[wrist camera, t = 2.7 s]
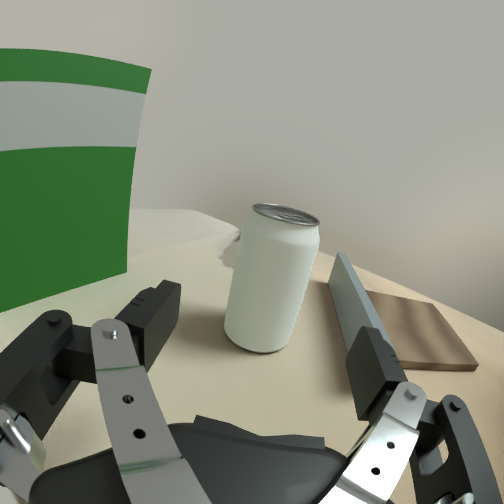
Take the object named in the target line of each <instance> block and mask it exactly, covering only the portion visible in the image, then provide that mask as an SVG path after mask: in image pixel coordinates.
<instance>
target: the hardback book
mask: <svg viewBox="0 0 504 504" xmlns="http://www.w3.org/2000/svg"><path fill="white" fill-rule="evenodd" d="M150 74H151V69H149V68H145V67H141V66H137V65H133V64H128V63H124V62H120V61H115V60H110V59H105V58H100V57H94V56H88V55H82V54H75V53H67V52H59V51H48V50H36V49H0V313H1V312H4V311H7V310H10V309H13V308H16V307H19V306H22V305H25V304H28V303H31V302H34V301H37V300H40V299H43V298H46V297H49V296H53V295H56V294H59V293H62V292H65V291H68V290H71V289H74V288H78V287H81V286H84V285H87V284H90V283H93V282H97V281H100V280H103V279H106V278H109V277H113V276H116V275H119V274H122V273H126V272H127V240H128V220H129V206H130V194H131V184H132V175H133V167H134V159H135V152H136V145H137V138H138V132H139V127H140V121H141V115H142V110H143V105H144V100H145V95H146V91H147V87H148V82H149V78H150Z"/></svg>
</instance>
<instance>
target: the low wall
mask: <svg viewBox="0 0 504 504" xmlns="http://www.w3.org/2000/svg"><path fill="white" fill-rule="evenodd" d="M328 285H329V288H330V292H331V295H332V299H333V302H334V305H335V309H336V312H337V316H338V320H339V323H340V327H341V330H342V334H343V338H344V342H345V345H346V349H347V353H348V352H349V350H350V348H351V346H352V344H353V342H354V340H355V338H356V336H357V334H358V332H359V330H360V328H361V327H362V326H366V327H372V328H378V329H379V330H380V332H381V335H382V337H383V339H384V340H385V341H387V342H388V343H389V344H390V345H391V346H392V348H393V349H394V347H393V345H392V343H391V341H390V339H389V336H388V334H387V332H386V330H385V328H384V326H383V324H382V322H381V320H380V318H379V316H378V314H377V312H376V310H375V308H374V306H373V304H372V302H371V300H370V299H369V297H368V295H367V293H366V291H365V289H364V287H363V285H362V283H361V282H360V280H359V278H358V276H357V274H356V272H355V271H354V269H353V267H352V265H351V263H350V262H349V260H348V258H347V256H346V255H345V254H343V253H337V256H336V259H335V262H334V265H333V269H332V272H331V275H330V278H329V281H328ZM394 350H395V349H394Z"/></svg>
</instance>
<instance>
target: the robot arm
mask: <svg viewBox="0 0 504 504" xmlns="http://www.w3.org/2000/svg"><path fill="white" fill-rule="evenodd" d="M180 295H181V284H179V283H175V282H171V281H168V280H163V281H162V282H161V283H160V284H159V285H158V286H157V287H156V288H152V287H149V288H147V289H145V290H142V291H140V292H139V293H138V294H137V295H136V296H135V298H133V299H132V301H131V302H130V303H129V304H128V305H127V306H126V307H125V308H124V309H123V310H122V311H121V312H120V313H119V314H118V315H117V316H116V317H115V318H114V319H102V320H99V321H97V322H96V323H94V324H93V326H92V327H84V326H78V325H73V323H72V318H71V316H70V315H69V314H68V313H67V312H65V311H62V310H50V311H47V312H45V313H43V314H42V315H41V316H39V317H38V318H37V319H36V320H35V321H34V322H33V323H32V324H31V325H29V326H28V327H27V328H26V329H25V330H24V331H23V332H22V333H21V334H20V335H19V336H18V337H17V338H16V339H15V340H14V341H12V342H11V343H10V344H9V345H8V346H7V347H6V348H5V349H4V350H3V351H2V352H1V353H0V485H1V486H3V487H7V488H9V489H10V490H11V491H13V492H14V493H15V494H17V495H18V496H19V497H21V498H22V499H24V500H25V501H26V502H28V503H29V504H394V503H393V502H392V501H391V500H390V499H389V496H390V494H391V492H392V491H393V489H394V487H395V485H396V483H397V481H398V480H399V478H400V476H401V474H402V472H403V470H404V468H405V466H406V463H407V461H408V459H409V462H410V467H411V472H412V478H413V483H414V489H415V495H416V502H417V504H503V503H502V499H501V495H500V492H499V488H498V485H497V482H496V479H495V476H494V473H493V470H492V467H491V464H490V461H489V458H488V456H487V453H486V450H485V448H484V445H483V443H482V440H481V438H480V435H479V433H478V431H477V428H476V426H475V424H474V421H473V419H472V417H471V415H470V413H469V410H468V408H467V406H466V404H465V403H464V402H463V400H461V399H460V398H459V397H457V396H455V395H446V396H445V397H444V398H443V399H442V400H441V402H440V403H438V402H434V401H431V400H427V397H426V394H425V392H424V391H423V389H422V388H421V387H419V386H418V385H416V384H414V383H412V382H408V380H407V377H406V375H405V373H404V371H403V368H402V366H401V364H400V363H399V360H398V358H397V357H396V356H397V355H396V353H395V351H394V349H393V348H392V346H391V345H390V344H389V343H388V342H387V341H385V340H384V339H383V337H382V335H381V332H380V330H379V329H378V328H372V327H366V326H362V327H361V328H360V330H359V332H358V334H357V336H356V338H355V340H354V342H353V344H352V346H351V348H350V350H349V352H348V355H347V359H346V367H347V372H348V376H349V380H350V385H351V389H352V394H353V398H354V403H355V408H356V412H357V417H358V420H359V421H369V425H368V426H367V427H366V429H365V430H364V431H363V433H362V434H361V436H360V437H359V438H358V440H357V441H356V443H355V444H354V445H353V447H352V448H351V449H350V451H349V452H348V453H347V455H346V456H344V455H342V454H341V453H339V452H337V451H335V450H333V449H331V448H328V447H325V444H324V437H313V436H303V435H281V436H259V435H256V434H253V433H251V432H248V431H246V430H244V429H241V428H239V427H237V426H234V425H232V424H230V423H227V422H222V421H218V420H214V419H210V418H207V417H203V416H199V415H196V417H195V420H194V423H174V424H168V425H167V424H166V421H165V419H164V417H163V414H162V412H161V409H160V407H159V405H158V402H157V400H156V397H155V395H154V392H153V389H152V387H151V384H150V381H149V379H148V376H147V373H148V371H149V369H150V368H151V366H152V364H153V363H154V361H155V359H156V358H157V356H158V354H159V353H160V351H161V349H162V348H163V346H164V344H165V343H166V341H167V339H168V338H169V336H170V335H171V333H172V331H173V330H174V328H175V326H176V323H177V320H178V315H179V305H180ZM80 381H83V382H89V383H94V384H97V385H98V390H99V395H100V400H101V405H102V409H103V414H104V418H105V422H106V426H107V430H108V434H109V438H110V441H111V445H112V448H109V449H106V450H104V451H101V452H99V453H96V454H93V455H90V456H88V457H85V458H82V459H79V460H76V461H73V462H70V463H67V464H64V465H60V466H57V467H54V468H51V469H48V470H46V471H44V472H43V463H44V460H45V456H46V451H45V447H44V445H43V443H42V440H43V438H44V437H45V435H46V433H47V432H48V430H49V429H50V427H51V425H52V424H53V422H54V421H55V419H56V417H57V416H58V414H59V413H60V411H61V410H62V408H63V407H64V405H65V404H66V402H67V401H68V399H69V398H70V396H71V395H72V393H73V392H74V390H75V389H76V387H77V386H78V384H79V383H80ZM444 439H445V442H446V445H447V448H448V451H449V455H448V458H447V460H446V462H445V463H444V464H443V461H442V458H441V454H440V451H439V448H438V445H439V444H440V443H441V442H442V441H443V440H444Z"/></svg>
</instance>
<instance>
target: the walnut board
mask: <svg viewBox="0 0 504 504" xmlns="http://www.w3.org/2000/svg"><path fill="white" fill-rule="evenodd" d="M365 291H366V293H367V295H368V297H369V299H370V300H371V302H372V304H373V306H374V308H375V310H376V312H377V314H378V316H379V318H380V320H381V322H382V324H383V326H384V328H385V330H386V332H387V334H388V336H389V339H390V341H391V343H392V345H393V347H394V349H395V350H394V351H395V353H396V355H397V356H396V357H397V358H398V360H399V363H400V364H401V366H402V368H409V369H425V370H450V371H475V370H476V368H477V367H478V365H479V364H478V362H477V361H476V360H475V358H474V357H473V355H472V354H471V353H470V351H469V350H468V348H467V347H466V346H465V344H464V343H463V342H462V340H461V339H460V338H459V336H458V335H457V334H456V332H455V331H454V330H453V328H452V327H451V326H450V325H449V323H448V322H447V321H446V320H445V318H444V317H443V316H442V315H441V313H440V312H439V311H438V310H437V308H436V307H435V306H434V305H433V304H431V303H426V302H421V301H416V300H411V299H407V298H402V297H397V296H392V295H387V294H382V293H378V292H373V291H368V290H365Z"/></svg>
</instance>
